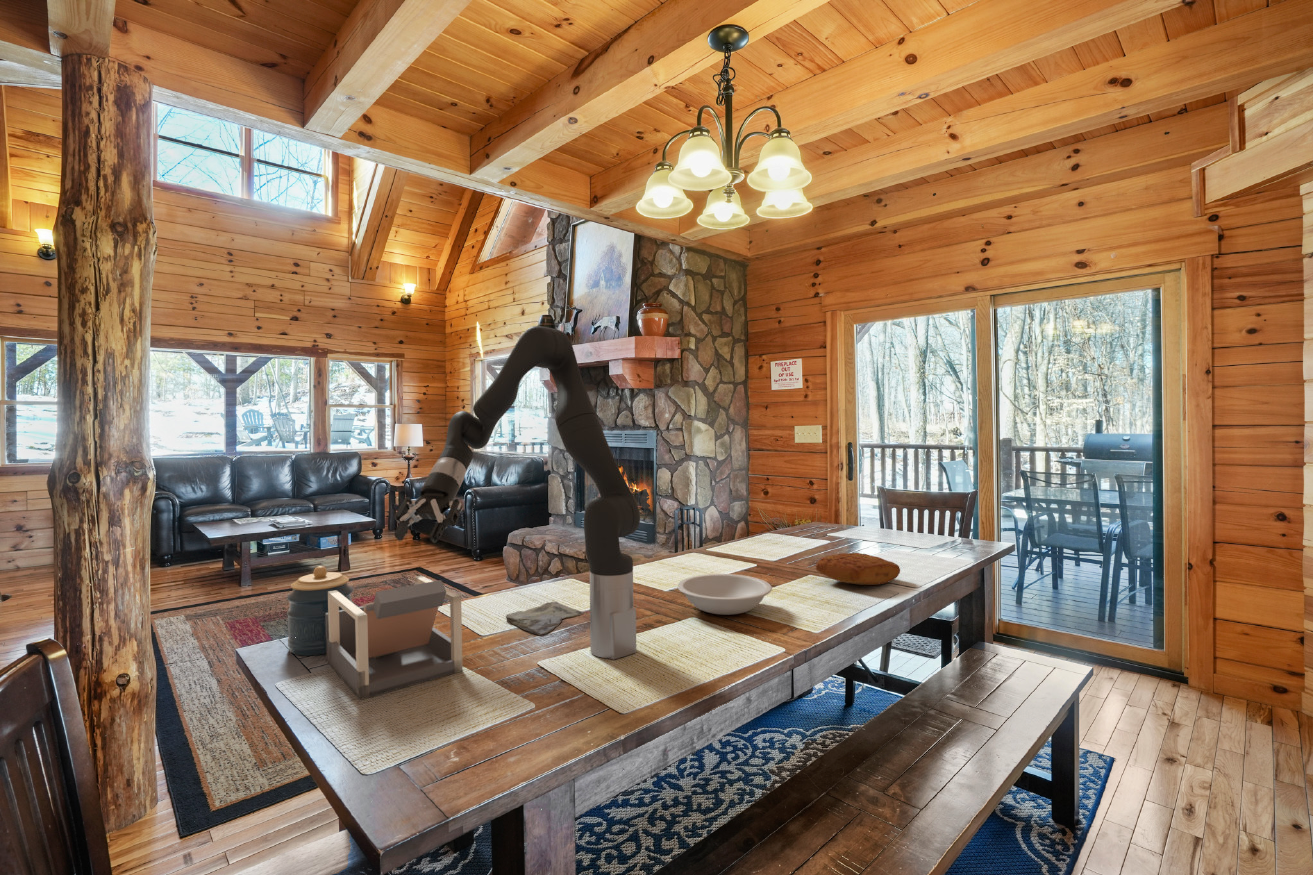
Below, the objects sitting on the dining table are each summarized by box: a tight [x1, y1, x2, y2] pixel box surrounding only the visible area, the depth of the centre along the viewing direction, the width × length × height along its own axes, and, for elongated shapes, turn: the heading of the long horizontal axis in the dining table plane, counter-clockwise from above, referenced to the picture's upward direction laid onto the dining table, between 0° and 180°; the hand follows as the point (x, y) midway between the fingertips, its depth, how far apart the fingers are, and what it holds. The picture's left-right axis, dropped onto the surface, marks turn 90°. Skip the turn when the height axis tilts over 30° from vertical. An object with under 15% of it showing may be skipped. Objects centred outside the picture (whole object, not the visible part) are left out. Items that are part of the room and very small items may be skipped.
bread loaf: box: [815, 552, 901, 586], centre depth 186 cm, size 22×17×8 cm
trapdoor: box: [355, 579, 446, 659], centre depth 121 cm, size 18×14×4 cm
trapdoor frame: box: [325, 575, 463, 701], centre depth 126 cm, size 24×19×15 cm
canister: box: [286, 565, 355, 657], centre depth 137 cm, size 13×13×18 cm
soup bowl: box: [677, 573, 773, 616], centre depth 160 cm, size 24×24×7 cm
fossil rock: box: [505, 601, 584, 637], centre depth 154 cm, size 18×15×2 cm
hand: (415, 539), depth 135 cm, fingers open, 8 cm apart
